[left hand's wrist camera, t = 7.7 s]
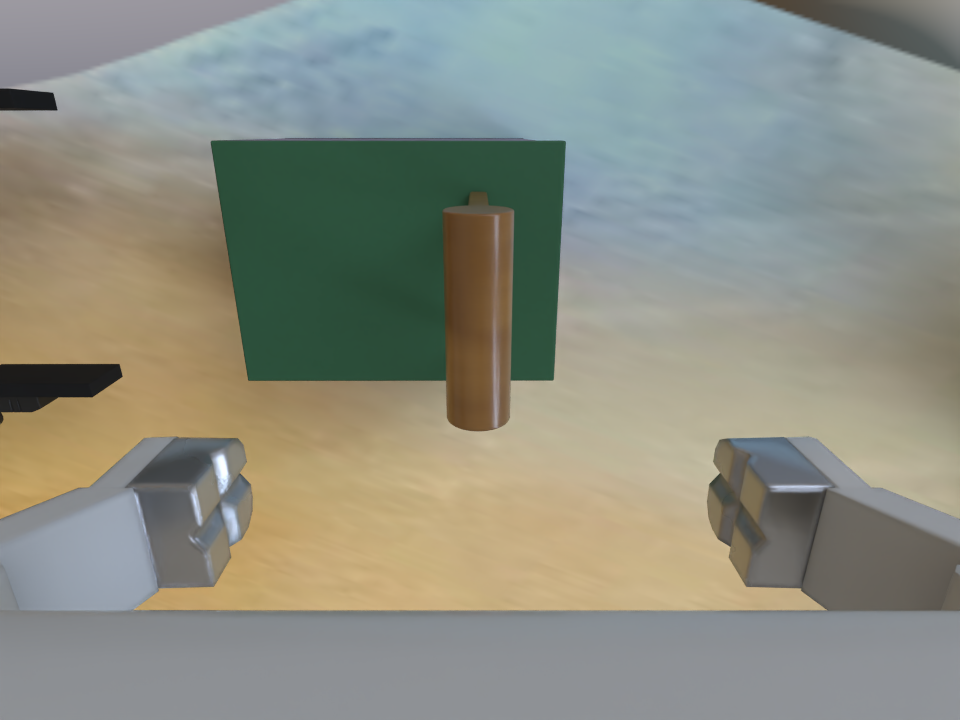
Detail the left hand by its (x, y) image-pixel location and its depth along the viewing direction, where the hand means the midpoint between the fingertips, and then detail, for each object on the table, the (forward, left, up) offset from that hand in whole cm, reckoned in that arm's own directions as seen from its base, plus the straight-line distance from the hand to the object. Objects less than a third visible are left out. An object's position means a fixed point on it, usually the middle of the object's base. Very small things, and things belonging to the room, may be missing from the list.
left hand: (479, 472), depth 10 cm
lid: (+3, -1, -17) cm, 17 cm away
